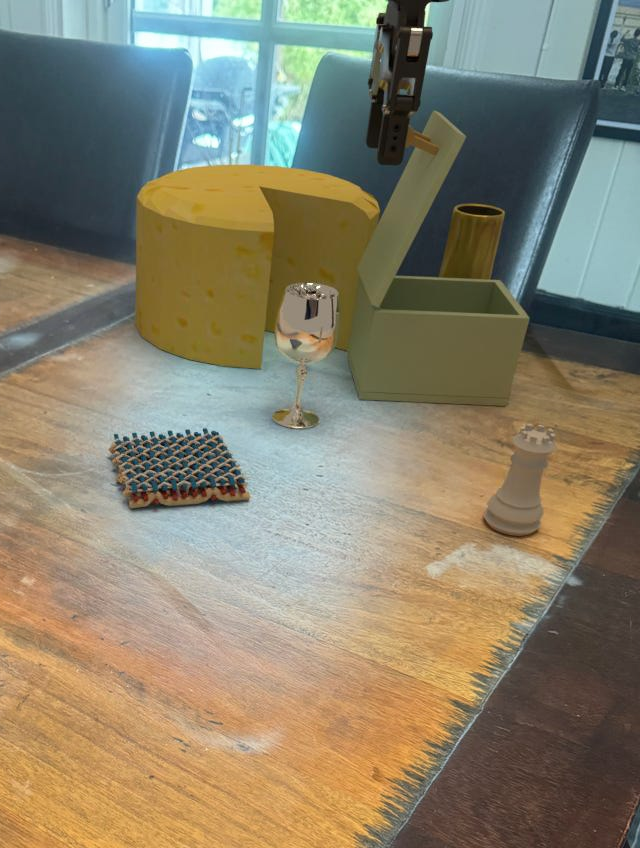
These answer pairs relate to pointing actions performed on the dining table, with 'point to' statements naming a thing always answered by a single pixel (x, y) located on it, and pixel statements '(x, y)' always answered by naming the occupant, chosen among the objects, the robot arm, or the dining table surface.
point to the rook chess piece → (522, 484)
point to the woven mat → (177, 469)
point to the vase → (472, 242)
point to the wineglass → (305, 339)
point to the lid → (409, 203)
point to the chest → (437, 341)
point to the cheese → (242, 254)
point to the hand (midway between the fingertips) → (382, 155)
